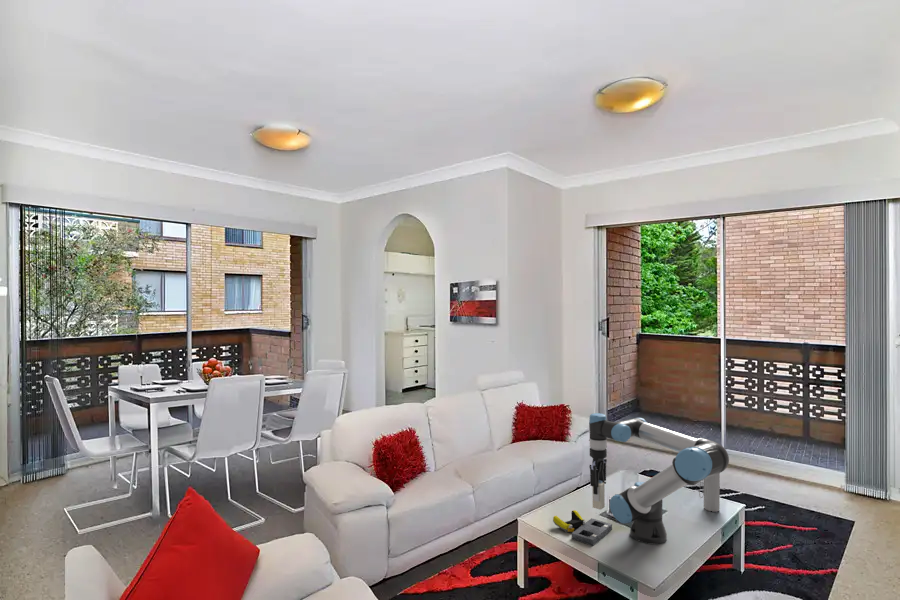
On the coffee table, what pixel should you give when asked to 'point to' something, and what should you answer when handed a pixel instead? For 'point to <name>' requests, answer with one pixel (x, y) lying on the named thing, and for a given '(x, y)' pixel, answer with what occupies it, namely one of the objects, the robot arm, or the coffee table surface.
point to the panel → (591, 531)
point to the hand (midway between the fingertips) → (598, 499)
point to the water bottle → (712, 493)
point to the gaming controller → (570, 522)
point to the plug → (601, 503)
